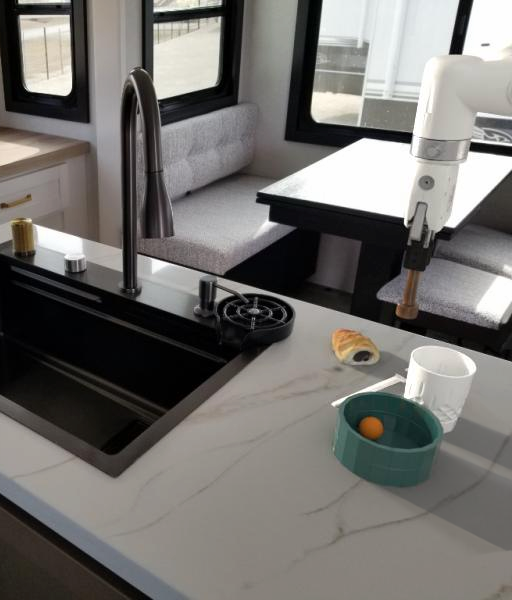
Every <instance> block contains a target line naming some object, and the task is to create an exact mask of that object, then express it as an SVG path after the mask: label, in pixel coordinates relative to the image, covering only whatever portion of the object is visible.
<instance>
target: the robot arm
mask: <svg viewBox="0 0 512 600" xmlns="http://www.w3.org/2000/svg"><path fill="white" fill-rule="evenodd" d="M421 81H422V82H421V84H420V85H421V86H420V91H419V96H418V97H419V98H418V103H417V108H416V114H415V118H414V119H415V120H414V126H413V131H412V137H411V143H410V147H409V153H408V157H409V159H411V160H413V161H415V162H414V163H415V164H414V167H413V172H412V175H411V176H412V177H411V181H410V187H409V191H408V194H407V195H408V196H407V202H406V207H405V213H404V219H403V225H404V226H405V227H406V228H407V229H409V228H410V229H409V233H408V238H407V239H408V240H407V243H406V248H405V253H404V258H403V262H402V267H403V269H406V270H409V269H410V270H415V271H420V272H421V273H424V272H425V271H426V270H427V267H428V266H429V265H430V263H431V260H432V255H433V249H434V245H435V241H434V239H435V237H436V233H438V232H440V231H441V230H442V229H443V228H444V227H445V225H446V224H447V223H448V221H449V220H450V218H451V216H452V211H453V205H454V200H455V195H456V194H455V193H456V188H457V183H458V178H459V170H460V165H461V164H464V163H466V162H467V160H468V156H469V151H470V147H471V142H472V139H473V134H474V129H475V125H476V120H477V115H478V113H481V114H489V115H495V116H500V117H501V116H502V117H507V118H509V117H510V118H512V43H510V44H508V45H505V46H504V47H502V48H500V49H498V50H497V51H495V52H494V53H492V54H490V55H489V56H488V57H487V58H486V59H484V58H482V57H479V56H476V55H469V54H442V55H436V56H434V57H431V58H430V59H429V60H427V62H426V64H425V66H424V71H423V75H422V79H421ZM422 232H426V235H425V234H423V233H422Z"/></svg>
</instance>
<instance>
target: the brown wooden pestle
mask: <svg viewBox="0 0 512 600" xmlns="http://www.w3.org/2000/svg"><path fill="white" fill-rule="evenodd" d="M422 233H423V234H425V235H426V232H422ZM421 276H422V272H420V271H415V270H410V269H408V272H407V278H406V282H405V287H404V292H403V298H402V299H399V300H398V301H397V302H396V303H397V304H396V309H395V314H396V316H397V317H399V318H402V319H405V320H414V319H416V318H417V317H418V315H419V309H420V304H419V302H418V301H417V296H418V290H419V285H420V280H421Z"/></svg>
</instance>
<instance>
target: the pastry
mask: <svg viewBox="0 0 512 600" xmlns="http://www.w3.org/2000/svg"><path fill="white" fill-rule="evenodd" d="M331 343H332V351H333V352H334V354H335V356H336V357H337V358H338V360H339V361H340V363H341V364H343V365H350V366H354V365H366V366H369V365H370V366H372V365H376V363H378V362H379V360H380V358H381V355H380V353H379V349H378V347H377V346H376V345H375V343H374V342H373V341H372V339H371V337H368V336H364V335H363V334H362V333H361V332H359V331H356V330H354V329H347V328H339V329H337V330H335V331H333V333H332V339H331Z"/></svg>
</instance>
